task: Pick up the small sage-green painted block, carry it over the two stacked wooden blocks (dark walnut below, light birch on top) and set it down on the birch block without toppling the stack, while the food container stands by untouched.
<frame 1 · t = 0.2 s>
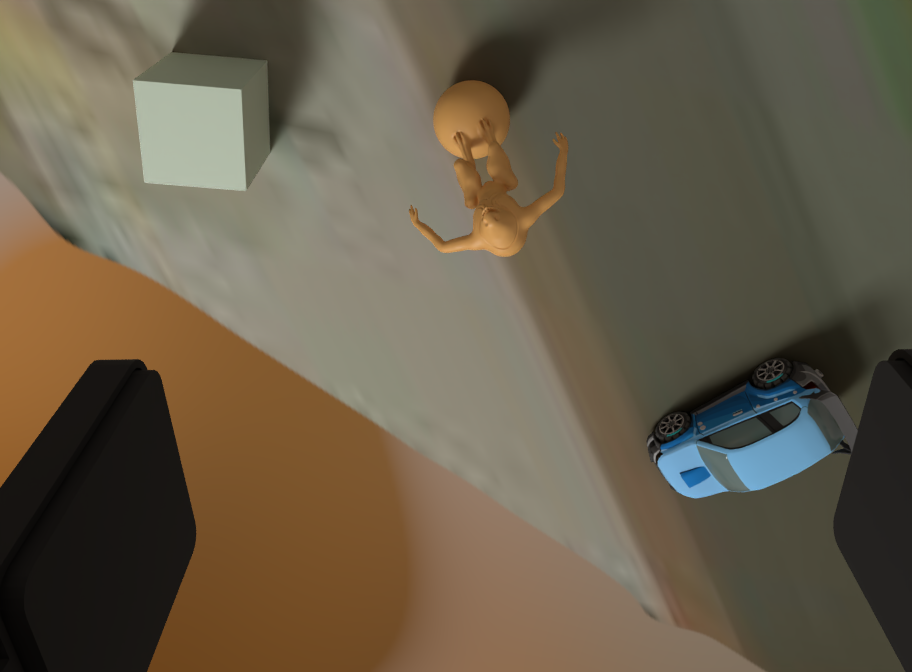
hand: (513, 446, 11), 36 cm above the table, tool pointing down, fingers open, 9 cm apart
green block: (222, 103, 45), on the table
toy car: (733, 413, 56), on the table
figurine: (479, 124, 46), on the table
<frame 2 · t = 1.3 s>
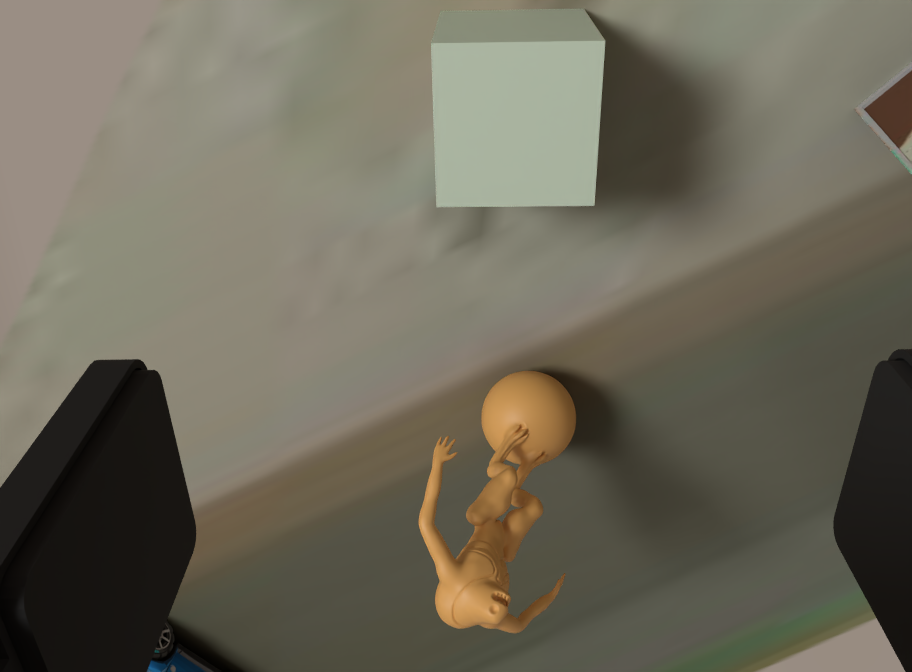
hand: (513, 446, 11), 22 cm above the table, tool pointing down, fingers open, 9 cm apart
green block: (511, 82, 30), on the table
toy car: (185, 667, 47), on the table
figurine: (506, 399, 37), on the table
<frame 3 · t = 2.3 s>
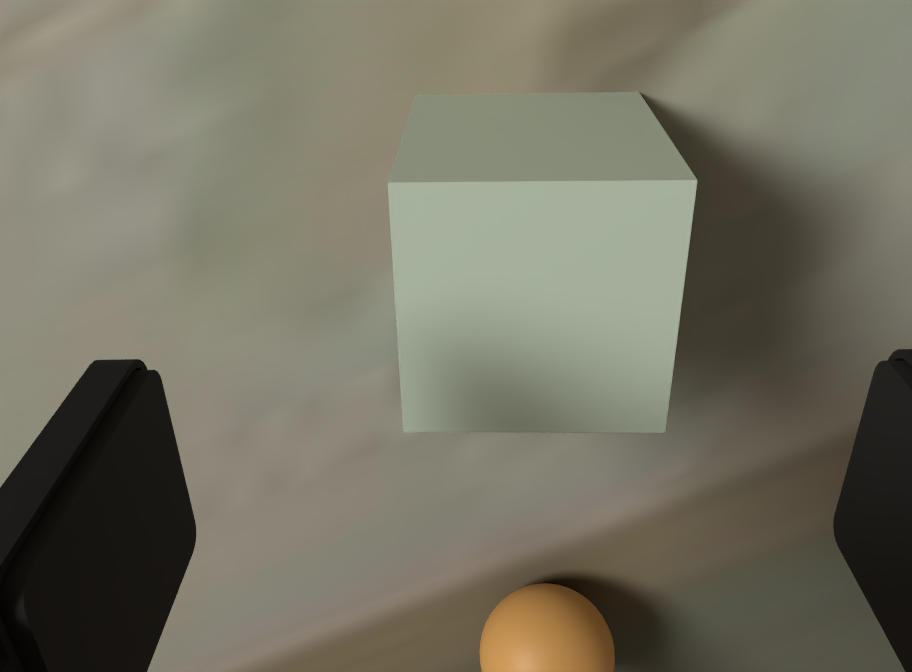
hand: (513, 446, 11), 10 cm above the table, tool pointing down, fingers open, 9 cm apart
green block: (524, 198, 20), on the table
figurine: (515, 608, 27), on the table
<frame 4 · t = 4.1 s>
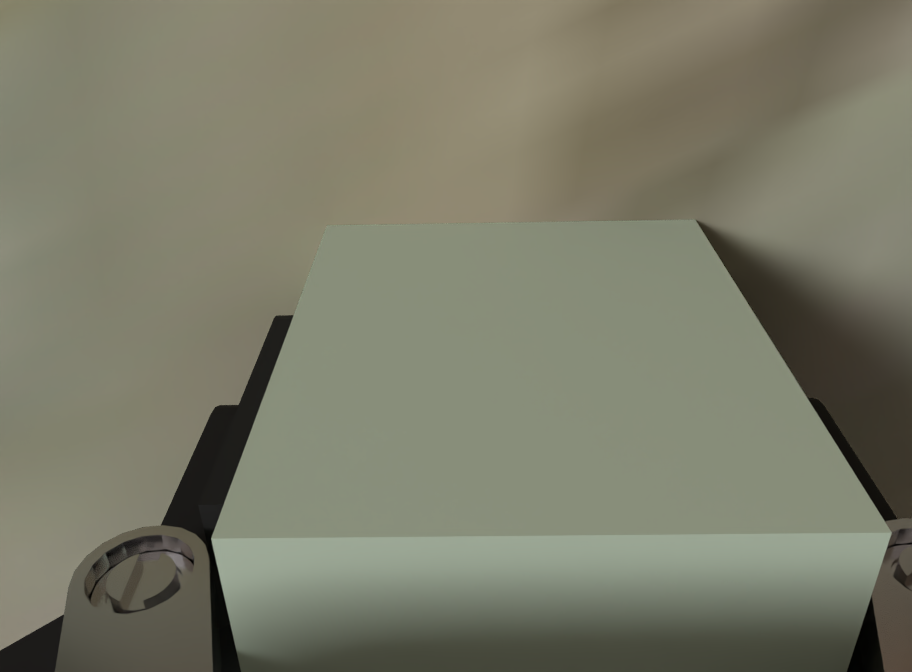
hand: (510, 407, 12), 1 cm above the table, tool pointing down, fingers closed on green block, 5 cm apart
green block: (508, 377, 13), on the table, touching gripper
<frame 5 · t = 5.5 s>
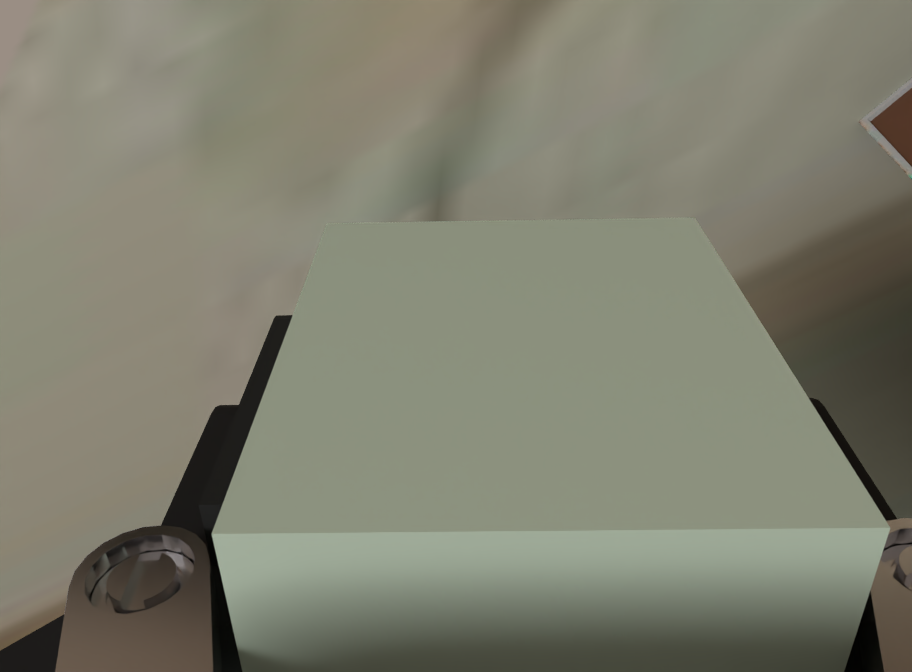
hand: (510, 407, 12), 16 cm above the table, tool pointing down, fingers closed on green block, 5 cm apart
green block: (507, 374, 13), point 15 cm above the table, touching gripper
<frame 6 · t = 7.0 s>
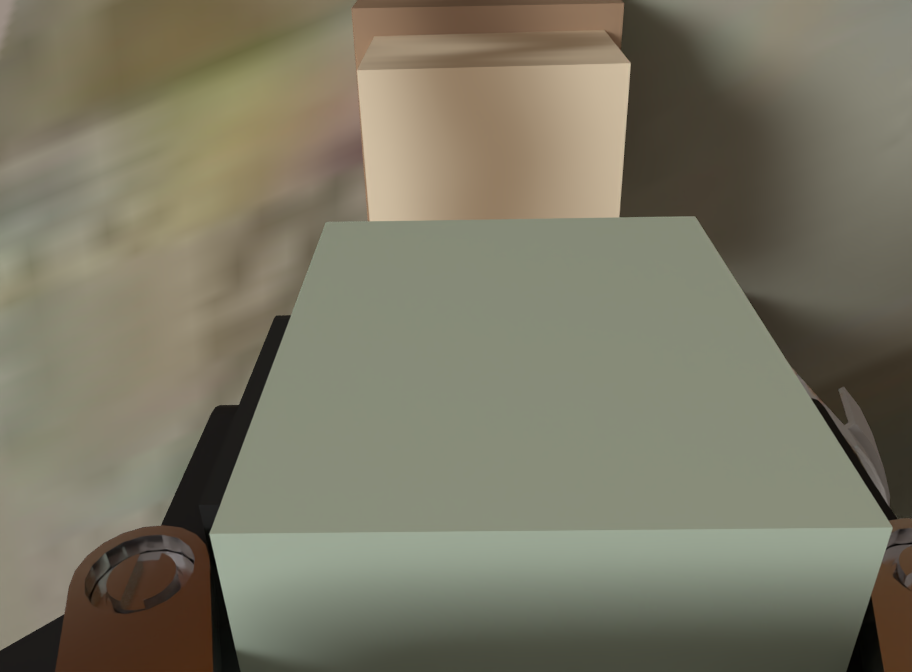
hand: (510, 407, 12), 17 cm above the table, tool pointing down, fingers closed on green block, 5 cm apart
green block: (507, 374, 13), point 16 cm above the table, touching gripper
walnut block: (484, 102, 27), on the table, touching birch block
food container: (668, 411, 32), on the table
birch block: (489, 146, 23), point 4 cm above the table, touching walnut block
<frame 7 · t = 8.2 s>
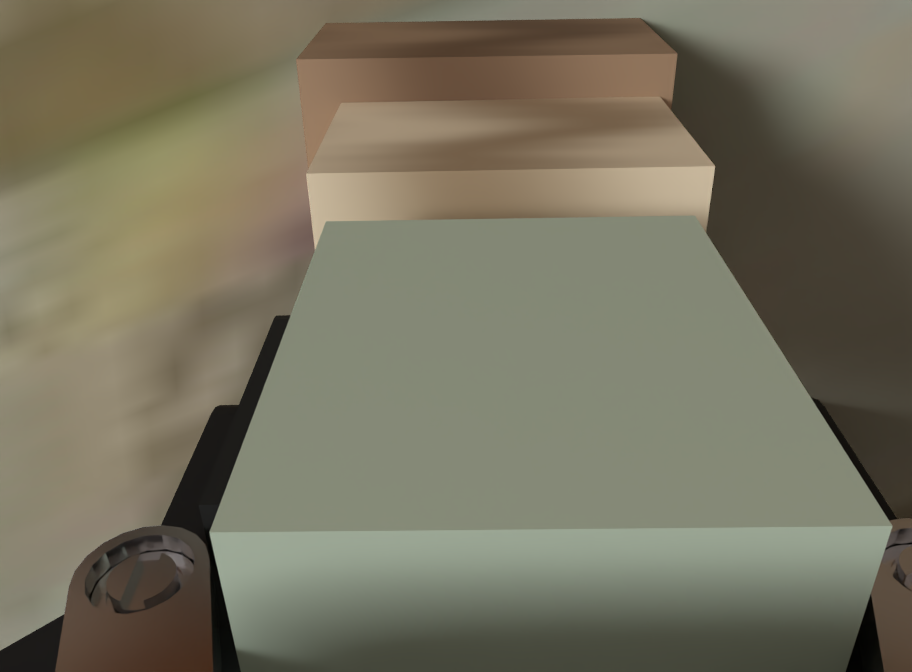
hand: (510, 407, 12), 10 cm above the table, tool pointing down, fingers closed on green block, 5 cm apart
green block: (507, 373, 13), point 9 cm above the table, touching gripper
walnut block: (482, 168, 21), on the table, touching birch block
birch block: (499, 246, 17), point 4 cm above the table, touching walnut block
when the fingers open (10 cm above the table, at t = 8.9 s): green block drops 1 cm, point 8 cm above the table.
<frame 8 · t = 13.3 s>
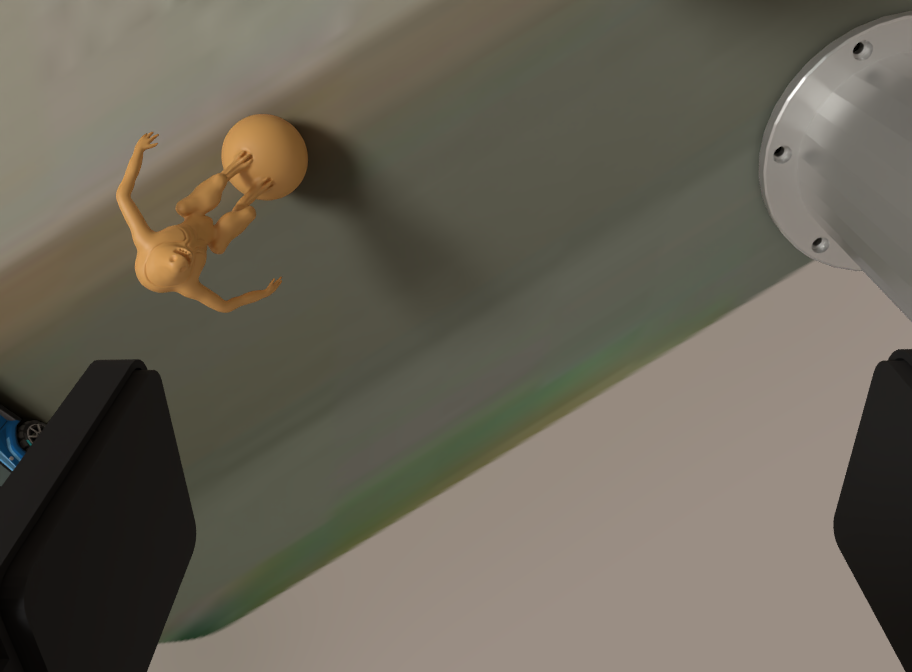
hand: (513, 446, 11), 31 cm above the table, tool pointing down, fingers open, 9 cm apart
figurine: (258, 154, 42), on the table
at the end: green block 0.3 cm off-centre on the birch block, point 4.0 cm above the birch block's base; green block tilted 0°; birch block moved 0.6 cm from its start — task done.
